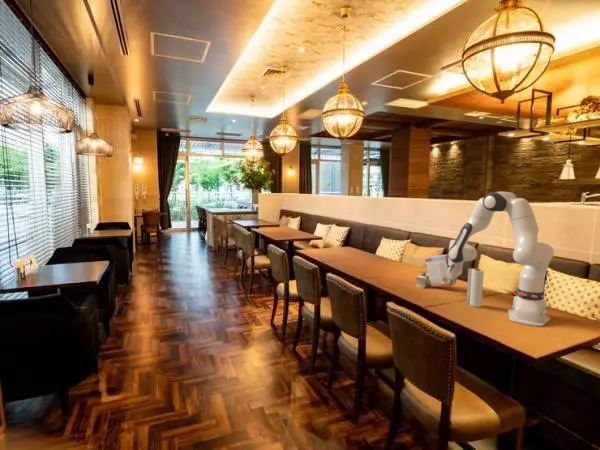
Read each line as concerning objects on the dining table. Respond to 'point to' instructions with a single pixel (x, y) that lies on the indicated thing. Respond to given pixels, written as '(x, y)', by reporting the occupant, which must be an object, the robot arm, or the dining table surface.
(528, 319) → the robot arm
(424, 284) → the stop block
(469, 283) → the paper towel roll
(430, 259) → the cracker box
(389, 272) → the dining table surface
